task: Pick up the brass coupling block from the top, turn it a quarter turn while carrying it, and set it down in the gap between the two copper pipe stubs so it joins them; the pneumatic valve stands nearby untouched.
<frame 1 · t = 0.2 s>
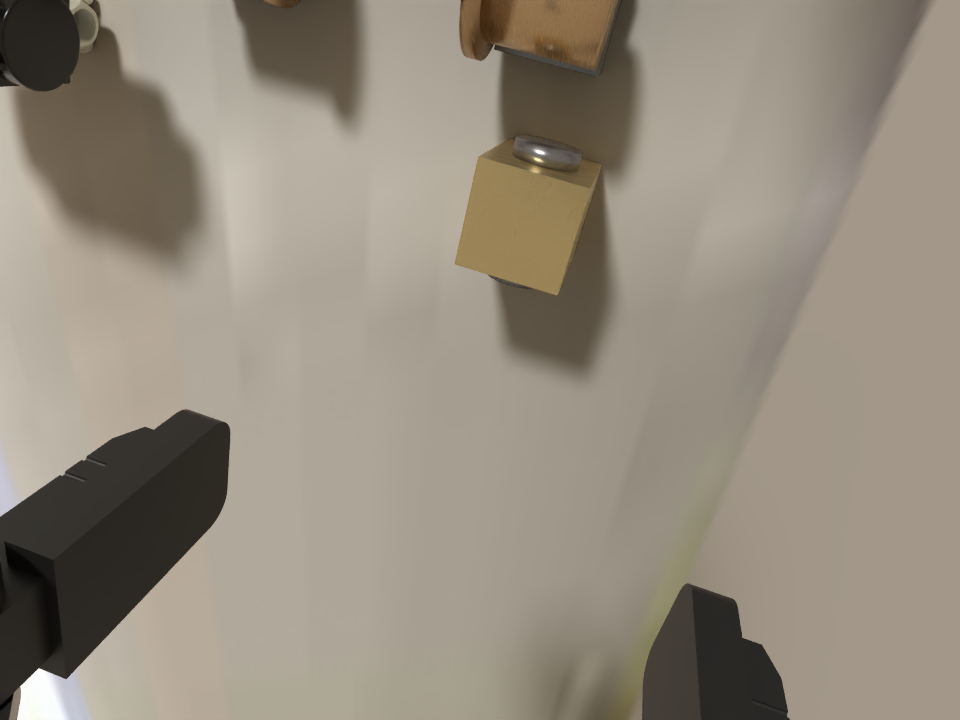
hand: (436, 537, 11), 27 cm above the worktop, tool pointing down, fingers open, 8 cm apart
coupling block: (542, 198, 35), on the worktop
pneumatic valve: (69, 4, 37), on the worktop
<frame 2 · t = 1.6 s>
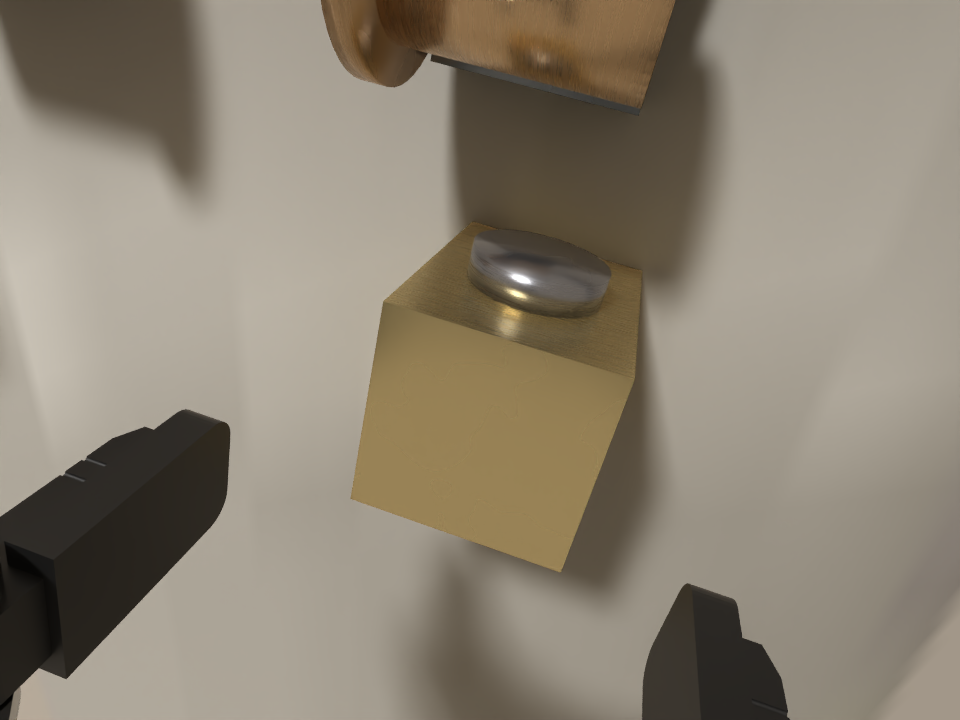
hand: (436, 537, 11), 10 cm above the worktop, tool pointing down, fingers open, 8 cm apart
coupling block: (533, 323, 20), on the worktop
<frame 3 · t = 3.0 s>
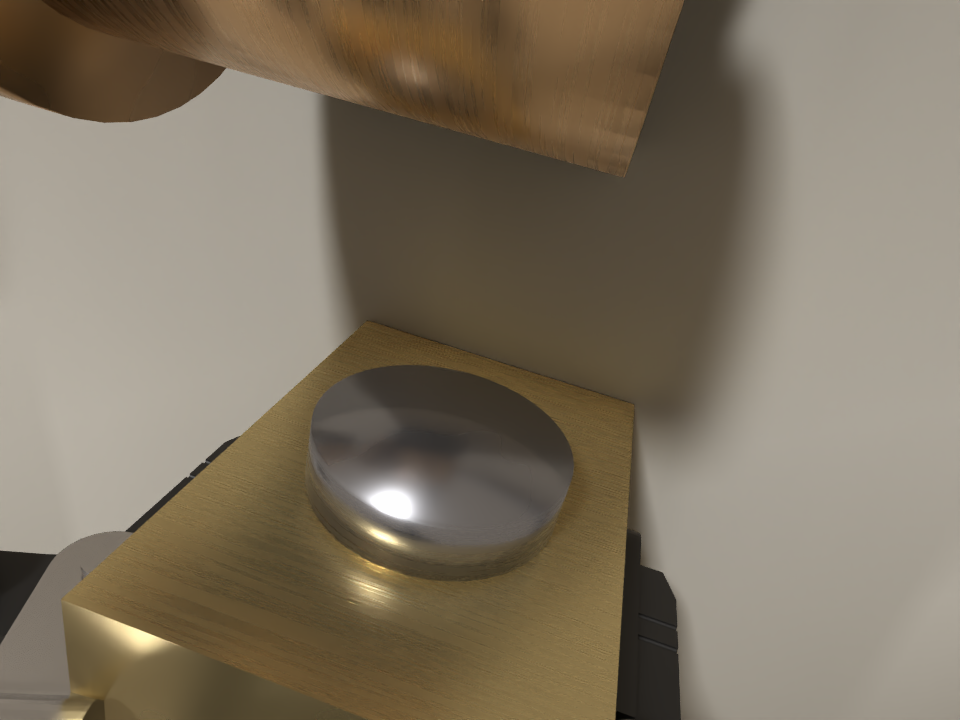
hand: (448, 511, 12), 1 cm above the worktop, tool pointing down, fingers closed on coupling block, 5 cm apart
coupling block: (468, 471, 13), on the worktop, touching gripper
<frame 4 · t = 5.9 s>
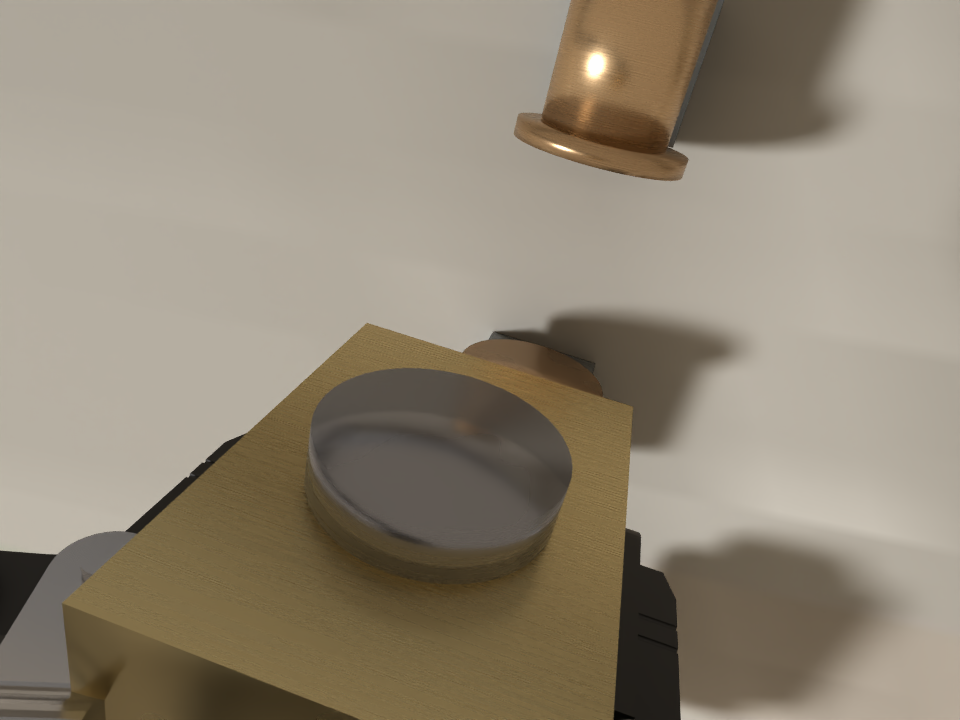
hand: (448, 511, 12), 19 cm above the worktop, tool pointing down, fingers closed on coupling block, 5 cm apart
coupling block: (467, 473, 13), point 18 cm above the worktop, touching gripper
pipe stubs: (574, 245, 29), on the worktop
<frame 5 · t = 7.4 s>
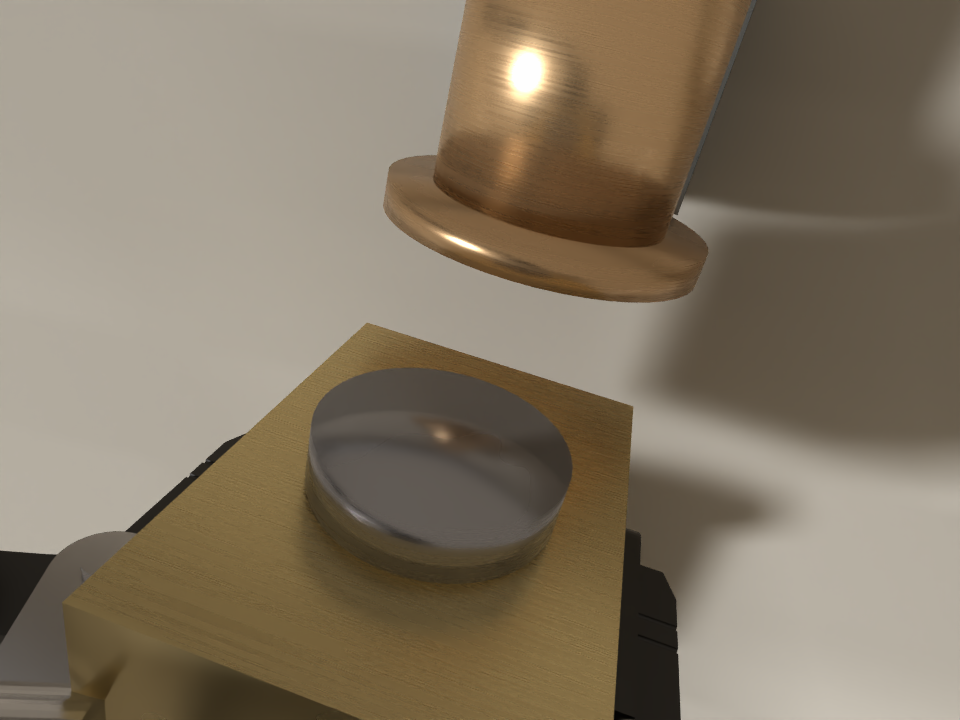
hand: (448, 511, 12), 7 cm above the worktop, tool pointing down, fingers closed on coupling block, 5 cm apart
coupling block: (467, 473, 13), point 6 cm above the worktop, touching gripper
pipe stubs: (521, 351, 18), on the worktop
when the fingers open (3 cm above the worktop, at t = 8.8 s): coupling block drops 2 cm, on the worktop.
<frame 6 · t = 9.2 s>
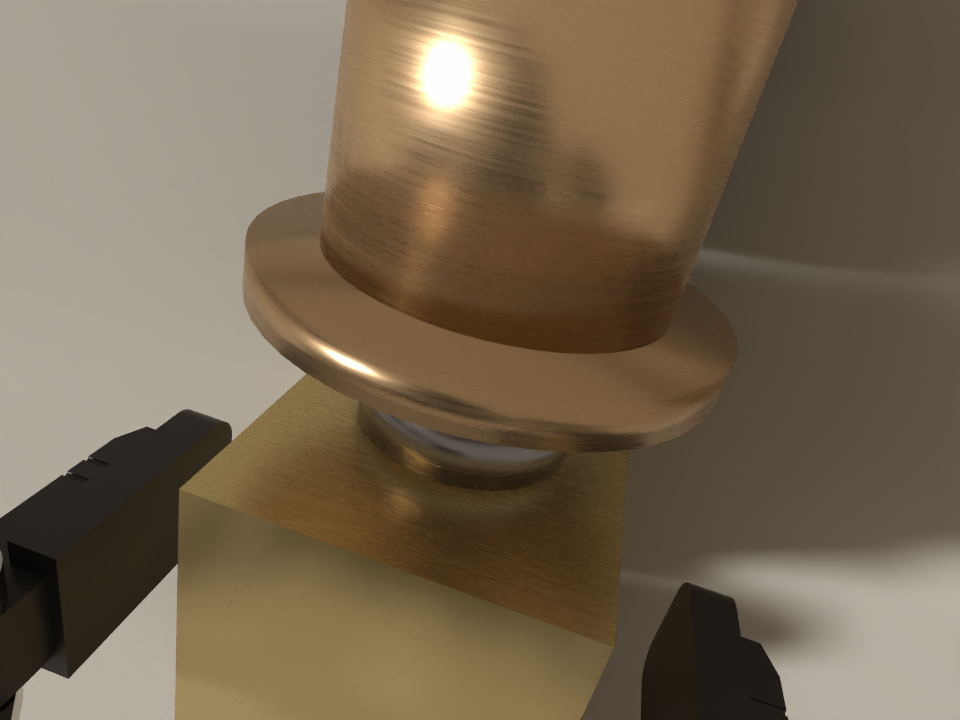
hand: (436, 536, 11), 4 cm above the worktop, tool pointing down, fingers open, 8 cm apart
coupling block: (485, 429, 14), on the worktop
pipe stubs: (485, 430, 14), on the worktop
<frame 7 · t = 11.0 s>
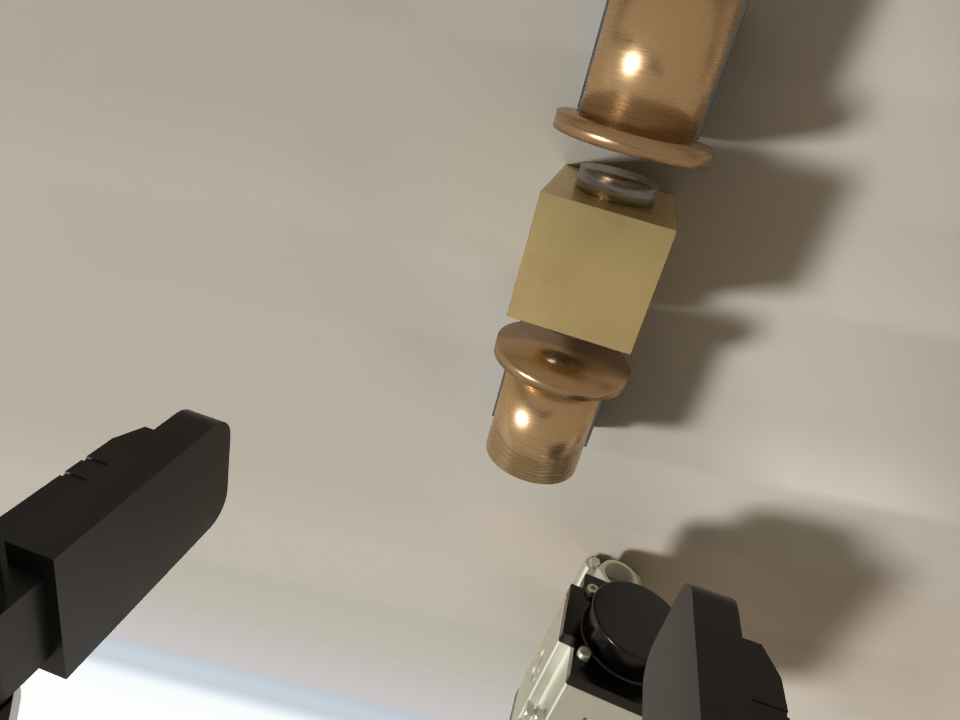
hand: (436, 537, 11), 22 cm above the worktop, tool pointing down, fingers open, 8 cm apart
coupling block: (602, 232, 31), on the worktop
pipe stubs: (602, 232, 30), on the worktop
pneumatic valve: (597, 580, 39), on the worktop
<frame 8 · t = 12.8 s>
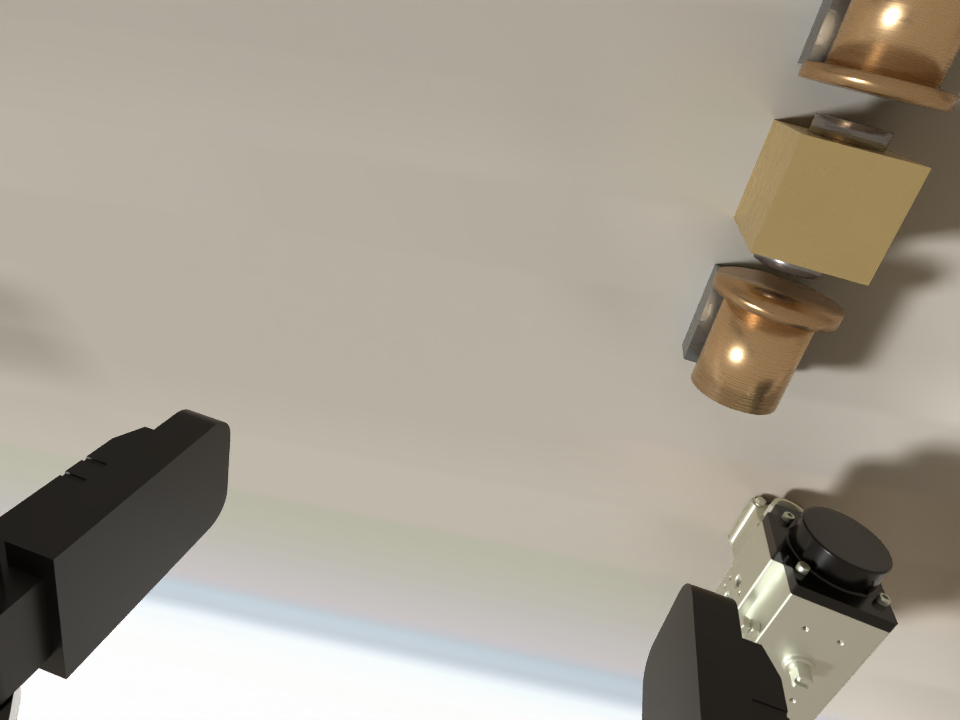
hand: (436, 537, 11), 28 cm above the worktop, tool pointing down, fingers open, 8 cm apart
coupling block: (802, 183, 33), on the worktop
pipe stubs: (803, 183, 33), on the worktop
pneumatic valve: (758, 519, 42), on the worktop
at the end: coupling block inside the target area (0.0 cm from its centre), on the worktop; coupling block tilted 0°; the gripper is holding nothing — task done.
